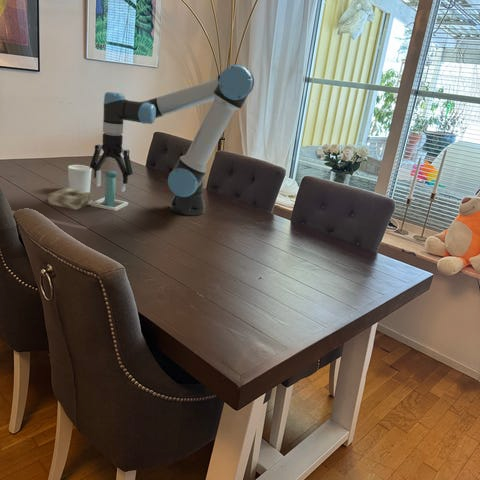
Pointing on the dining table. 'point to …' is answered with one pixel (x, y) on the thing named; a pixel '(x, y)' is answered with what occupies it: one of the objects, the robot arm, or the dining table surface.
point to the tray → (96, 204)
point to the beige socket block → (70, 198)
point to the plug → (110, 188)
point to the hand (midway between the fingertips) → (110, 188)
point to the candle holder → (79, 177)
